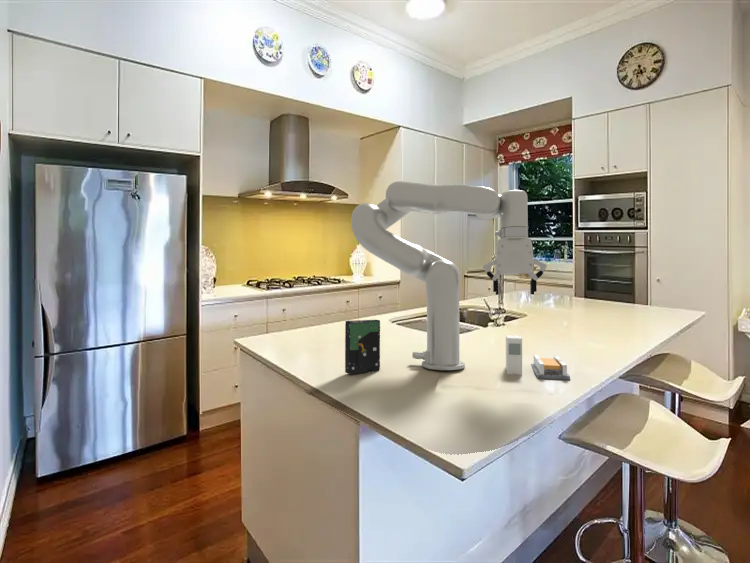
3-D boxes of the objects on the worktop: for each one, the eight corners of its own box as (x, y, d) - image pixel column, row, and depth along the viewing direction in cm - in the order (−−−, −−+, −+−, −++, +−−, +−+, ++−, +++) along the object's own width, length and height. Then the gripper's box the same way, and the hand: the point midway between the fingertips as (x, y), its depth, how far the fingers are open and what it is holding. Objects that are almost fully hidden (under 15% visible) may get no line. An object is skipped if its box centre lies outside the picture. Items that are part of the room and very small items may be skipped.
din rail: (537, 378, 117) (537, 364, 117) (531, 367, 133) (531, 354, 133) (570, 380, 115) (570, 365, 115) (559, 368, 131) (559, 355, 131)
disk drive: (375, 369, 130) (375, 318, 130) (380, 370, 128) (380, 319, 128) (344, 372, 125) (344, 320, 125) (348, 374, 122) (348, 321, 122)
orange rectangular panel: (544, 368, 119) (544, 365, 119) (539, 361, 130) (539, 358, 130) (560, 369, 118) (560, 365, 118) (553, 362, 129) (553, 358, 129)
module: (507, 374, 123) (507, 338, 123) (505, 369, 130) (505, 335, 130) (522, 374, 122) (522, 338, 122) (520, 369, 129) (520, 335, 129)
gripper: (482, 234, 124) (483, 295, 124) (548, 232, 120) (548, 294, 120) (482, 236, 132) (483, 294, 132) (544, 234, 128) (544, 294, 128)
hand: (514, 294), depth 126 cm, fingers open, 9 cm apart
